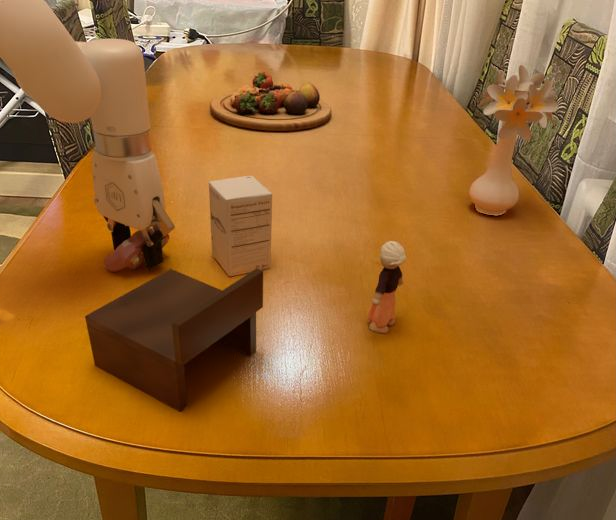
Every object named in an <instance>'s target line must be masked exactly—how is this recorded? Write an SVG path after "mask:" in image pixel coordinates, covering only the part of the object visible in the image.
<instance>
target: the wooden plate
mask: <svg viewBox="0 0 616 520" xmlns="http://www.w3.org/2000/svg"><path fill="white" fill-rule="evenodd" d="M320 95H321V94H320V92H319V90H318V89H317V87H316V86H315V84H313V83H311V82H310V81H306V82H304V83H303V84H302V85H301V86H300V87H299V89H294V88H292V86H291V85H290V84H288V83H279V84H274V81H273V78H272V75H271V74H270V73H269V72H268V71H261V72H258V74H257V75H255V74H254V75H253V79H252V84H248V83H247V84H244V85H241V86H240V87H239V88H238V89H237V90H233V91H228V92H224V93H221V94H219V95H217V96H215V97H213V99H212V100H211V101H210V104H209V110H210V112H211V114H212V115H213V116H214V117H216V118H217V119H219V120H220V121H223V122H224V123H227V124H229V125H233V126H237V127H241V128H246V129H250V130H251V129H252V130H262V131H273V132H275V131H277V132H278V131H280V132H282V131H283V132H284V131H286V132H287V131H298V130H300V131H301V130H305V129H306V130H307V129H310V128H314V127H318V126H320V125H322V124H324V123H326V122H328V120H329V119H330V118H331V116H332V108H331V106H330V105H329V104H328V102H326V101H325V100H323V99H322V98H321V96H320Z"/></svg>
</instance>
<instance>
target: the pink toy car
mask: <svg viewBox="0 0 616 520" xmlns="http://www.w3.org/2000/svg"><path fill="white" fill-rule="evenodd" d="M149 231H150V234H151V235H152V234H153V233H154V230H153V227H150V228H149ZM169 240H170V235H169V234H168V235H167V236H166V237H165V238H164V240H162V241H161V242H162V249H163V248H164V247H165V246H166V245H167V244H168V242H169ZM144 244H146V243H145V240H144V237H143V235H142V232H141V230H136V231H135V232H134V233H132V234H131V237H130V238H129V239H127V240H125V241H124V242H123V243H122V244H120V245H119V246H118V247H117V248H116V250H115V251H114V250H113V252H111V253H109V254H108V255H106V256H105V257H104V259H103V265H104V267H105V269H106V270H107V271H109V272H114V273H116V272H118V271H121V270H123V269H124V268H126V267H128V268H129V269H130V270H132V271H133V270H136V269H137V268H138V267H140V265H141V264H142V262H143V259H144V252H143V245H144Z"/></svg>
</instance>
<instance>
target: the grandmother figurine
mask: <svg viewBox="0 0 616 520" xmlns="http://www.w3.org/2000/svg"><path fill="white" fill-rule="evenodd" d="M379 253H380V258H379V259H380V264H381V266H382V270H381V271H380V273H379V274H378V282H377V285H376V288H375V290H374V294H373V298H372V300H371V304H370V307H369V311H368V315H367V320H368V321H371V322H370V323H369V325H368V329H369V330H370V331H372V332H376V333H379V334H387V333H388V332H389V331H390V329H389V326H394V325H395V324H396V320H395V319H394V317H395V314H396V313H395V312H396V304H397V303H396V301H397V300H396V292H397V289H398V287H399V286H400V287H401V286H403V284H404V279H403V272H402V270H401V267H400V266H401V265H403V264H404V263H405V262H406V260H407V256H406V251H405V248H404V246H402V245H401V244H400V243H399V242H397V241H396V240H388V241H386V242H385V243H383V245H381V247H380V251H379Z"/></svg>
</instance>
